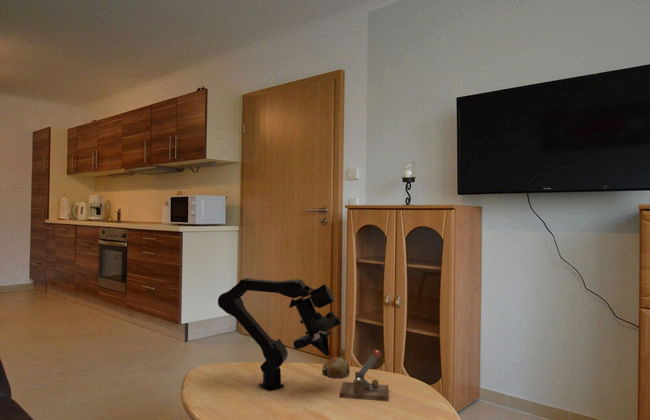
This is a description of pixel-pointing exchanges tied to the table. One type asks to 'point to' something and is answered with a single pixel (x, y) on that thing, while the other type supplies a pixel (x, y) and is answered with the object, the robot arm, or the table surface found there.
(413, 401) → the table surface
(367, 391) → the base
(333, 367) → the bread roll
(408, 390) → the table surface
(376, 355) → the lever
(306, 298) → the robot arm
